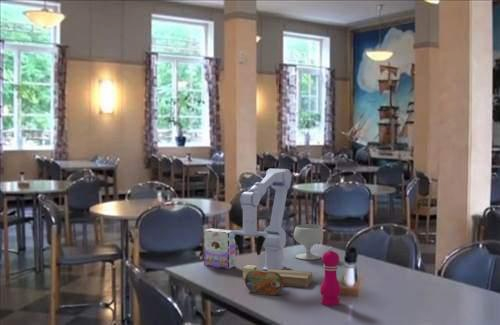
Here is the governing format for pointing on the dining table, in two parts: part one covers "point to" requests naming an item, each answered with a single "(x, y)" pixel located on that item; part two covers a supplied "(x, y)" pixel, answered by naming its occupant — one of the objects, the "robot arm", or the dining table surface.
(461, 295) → the dining table surface
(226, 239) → the candy box
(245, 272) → the birch cube
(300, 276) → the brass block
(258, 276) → the tin
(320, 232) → the chalice
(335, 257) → the pepper mill
